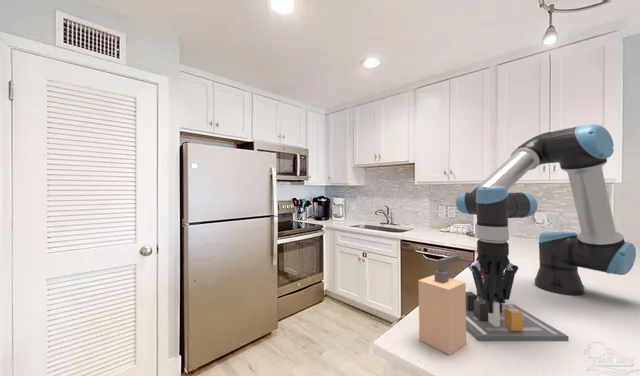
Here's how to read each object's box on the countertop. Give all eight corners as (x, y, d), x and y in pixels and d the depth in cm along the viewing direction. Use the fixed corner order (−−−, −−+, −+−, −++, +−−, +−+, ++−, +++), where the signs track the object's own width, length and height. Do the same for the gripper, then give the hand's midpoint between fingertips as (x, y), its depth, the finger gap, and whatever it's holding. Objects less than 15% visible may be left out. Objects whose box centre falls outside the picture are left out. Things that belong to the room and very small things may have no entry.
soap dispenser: (449, 355, 64) (448, 265, 65) (418, 339, 71) (417, 258, 72) (474, 338, 72) (472, 257, 72) (444, 325, 79) (442, 252, 79)
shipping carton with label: (515, 325, 75) (514, 307, 75) (523, 330, 72) (522, 312, 72) (504, 325, 75) (504, 307, 75) (512, 330, 72) (511, 312, 72)
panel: (514, 307, 90) (513, 289, 90) (568, 340, 70) (567, 317, 70) (444, 308, 90) (443, 289, 91) (478, 340, 70) (477, 317, 71)
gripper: (506, 237, 78) (508, 317, 78) (462, 238, 78) (463, 317, 78) (525, 242, 70) (527, 331, 70) (476, 243, 71) (478, 331, 70)
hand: (494, 323), depth 74 cm, fingers closed
